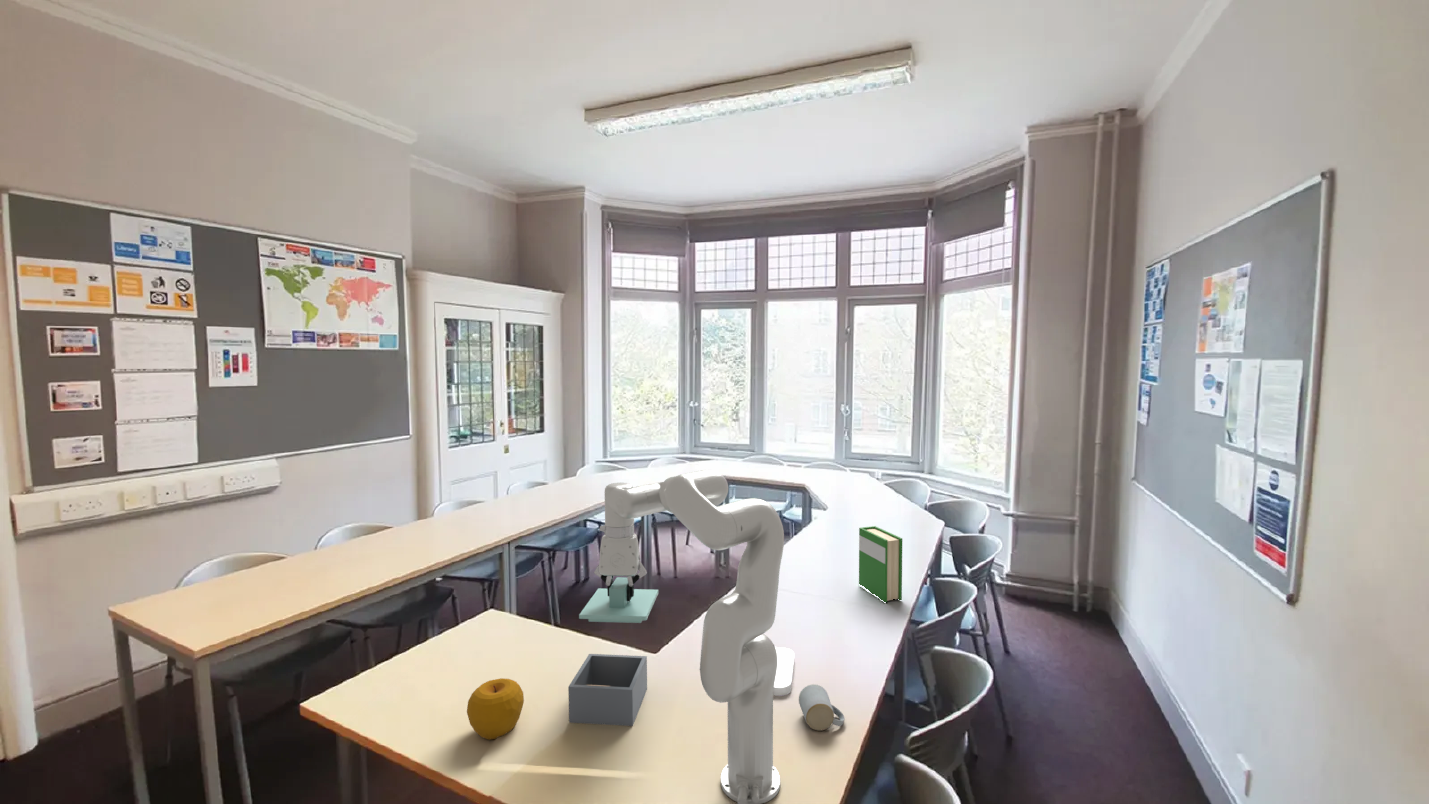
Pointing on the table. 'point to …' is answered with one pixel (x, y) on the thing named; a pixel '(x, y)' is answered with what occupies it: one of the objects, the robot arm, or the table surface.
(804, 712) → the ceramic mug
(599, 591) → the lid
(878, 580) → the hardback book
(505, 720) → the apple
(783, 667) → the computer
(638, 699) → the tub
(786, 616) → the table surface
